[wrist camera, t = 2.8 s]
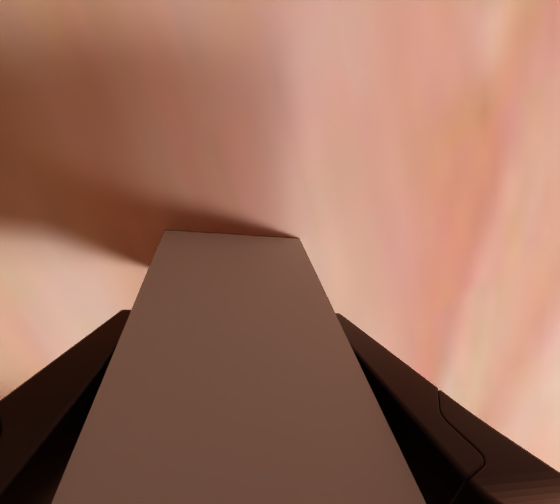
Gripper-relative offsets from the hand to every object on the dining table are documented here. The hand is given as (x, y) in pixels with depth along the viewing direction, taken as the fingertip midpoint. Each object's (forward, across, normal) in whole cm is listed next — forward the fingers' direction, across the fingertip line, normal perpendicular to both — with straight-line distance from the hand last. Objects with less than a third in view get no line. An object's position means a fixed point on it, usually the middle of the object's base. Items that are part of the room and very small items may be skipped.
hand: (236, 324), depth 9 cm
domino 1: (+4, 0, 0) cm, 4 cm away
